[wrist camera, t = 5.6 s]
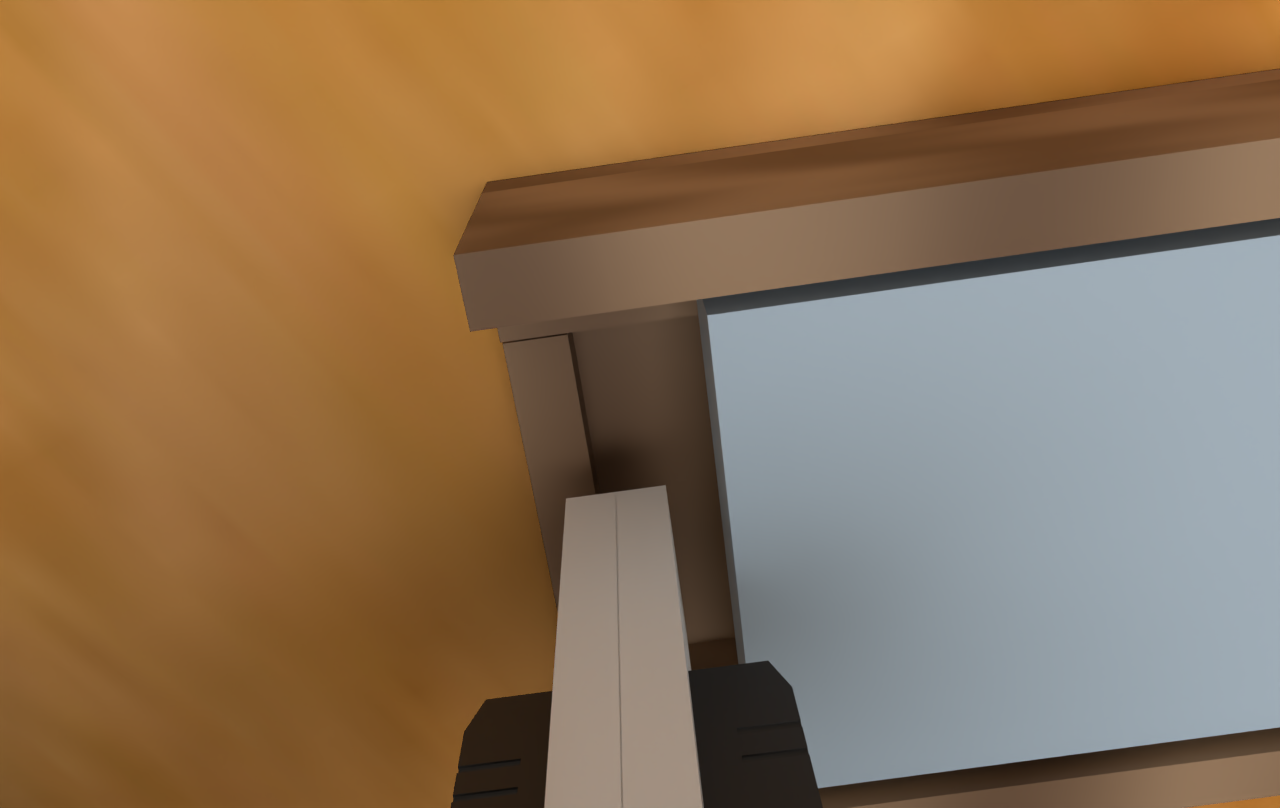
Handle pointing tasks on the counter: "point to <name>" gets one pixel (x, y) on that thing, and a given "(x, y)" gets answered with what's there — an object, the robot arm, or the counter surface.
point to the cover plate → (1008, 500)
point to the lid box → (826, 251)
